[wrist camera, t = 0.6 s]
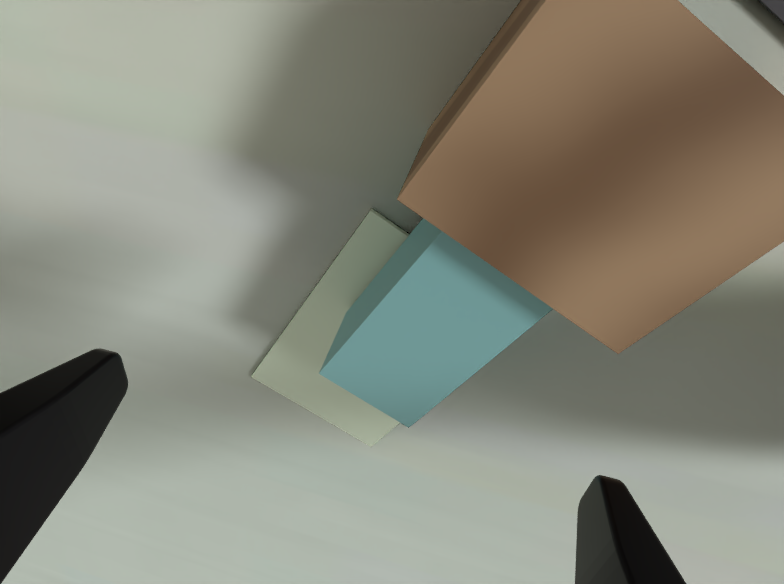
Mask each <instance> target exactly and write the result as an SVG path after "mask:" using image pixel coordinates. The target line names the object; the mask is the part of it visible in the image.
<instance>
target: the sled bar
mask: <svg viewBox="0 0 784 584" xmlns="http://www.w3.org/2000/svg"><path fill="white" fill-rule="evenodd" d="M552 309H553V308H551V307H550V306H549V305H547V304H546V303H544V302H543V301H541V300H540V299H539V298H537V297H536V296H534V295H533V294H531V293H530V292H529V291H527V290H526V289H524V288H523V287H521V286H520V285H518V284H517V283H516V282H514V281H513V280H511V279H510V278H508V277H507V276H506V275H504V274H503V273H501V272H500V271H498V270H497V269H496V268H494V267H493V266H491V265H490V264H488V263H487V262H486V261H484V260H483V259H481V258H480V257H478V256H477V255H476V254H474V253H473V252H471V251H470V250H468V249H467V248H466V247H464V246H463V245H461V244H460V243H458V242H457V241H456V240H454V239H453V238H451V237H450V236H448V235H447V234H446V233H444V232H443V231H441V230H440V229H438V228H437V227H435V226H434V225H433V224H431V223H430V222H428V221H427V220H425V219H424V218H423V219H422V220H421V221H420V223H419V224H418V225H417V226H416V227H415V229H414V230H413V231H412V232H411V234H410V235H409V236H408V237H407V238H406V240H405V241H404V242H403V243H402V245H401V246H400V247H399V248H398V250H397V251H396V252H395V253H394V254H393V256H392V257H391V258H390V259H389V261H388V262H387V263H386V264H385V265H384V267H383V268H382V269H381V270H380V272H379V273H378V274H377V275H376V277H375V278H374V279H373V280H372V281H371V283H370V284H369V285H368V286H367V288H366V289H365V290H364V291H363V292H362V294H361V295H360V296H359V297H358V299H357V300H356V301H355V302H354V304H353V305H352V306H351V307H350V308H349V310H348V311H347V312H346V314H345V316H344V319H343V321H342V323H341V325H340V327H339V330H338V332H337V334H336V336H335V339H334V341H333V343H332V345H331V347H330V350H329V352H328V354H327V356H326V359H325V361H324V363H323V365H322V367H321V370H320V372H319V374H320V375H322V376H323V377H325V378H327V379H328V380H330V381H332V382H333V383H335V384H337V385H338V386H340V387H342V388H343V389H345V390H347V391H348V392H350V393H352V394H353V395H355V396H357V397H358V398H360V399H362V400H363V401H365V402H367V403H368V404H370V405H372V406H373V407H375V408H377V409H378V410H380V411H382V412H383V413H385V414H387V415H388V416H390V417H392V418H393V419H395V420H397V421H398V422H400V423H402V424H403V425H405V426H407V427H408V428H409V427H410V426H412V425H413V424H414V423H415V422H416V421H418V420H419V419H420V418H421V417H422V416H424V415H425V414H426V413H427V412H429V411H430V410H431V409H432V408H433V407H435V406H436V405H437V404H438V403H439V402H441V401H442V400H443V399H444V398H446V397H447V396H448V395H449V394H450V393H452V392H453V391H454V390H455V389H456V388H458V387H459V386H460V385H461V384H463V383H464V382H465V381H466V380H467V379H469V378H470V377H471V376H472V375H473V374H475V373H476V372H477V371H478V370H479V369H481V368H482V367H483V366H484V365H486V364H487V363H488V362H489V361H490V360H492V359H493V358H494V357H495V356H496V355H498V354H499V353H500V352H501V351H503V350H504V349H505V348H506V347H507V346H509V345H510V344H511V343H512V342H513V341H515V340H516V339H517V338H518V337H520V336H521V335H522V334H523V333H524V332H526V331H527V330H528V329H529V328H530V327H532V326H533V325H534V324H535V323H536V322H538V321H539V320H540V319H541V318H543V317H544V316H545V315H546V314H547V313H549V312H550V311H551V310H552Z"/></svg>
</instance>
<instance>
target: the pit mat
mask: <svg viewBox="0 0 784 584" xmlns="http://www.w3.org/2000/svg"><path fill="white" fill-rule="evenodd" d="M758 1H759V2H761V3H762V4H763V5H764V6H765V7H766V8H767V9H768V10H769V11H770V12H771V13H772V14H773V15H774V16H775V17H777V18H778V19H779V20H780V21H781V22H782V23H783V24H784V0H758Z"/></svg>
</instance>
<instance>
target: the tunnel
mask: <svg viewBox="0 0 784 584" xmlns="http://www.w3.org/2000/svg"><path fill="white" fill-rule="evenodd" d="M397 200H398V201H400V202H401V203H403V204H404V205H405V206H407V207H408V208H410V209H411V210H413V211H414V212H415V213H417V214H418V215H420V216H421V217H423V218H424V219H425V220H427V221H428V222H430V223H431V224H433V225H434V226H435V227H437V228H438V229H440V230H441V231H443V232H444V233H446V234H447V235H448V236H450V237H451V238H453V239H454V240H456V241H457V242H458V243H460V244H461V245H463V246H464V247H466V248H467V249H468V250H470V251H471V252H473V253H474V254H476V255H477V256H478V257H480V258H481V259H483V260H484V261H486V262H487V263H488V264H490V265H491V266H493V267H494V268H496V269H497V270H498V271H500V272H501V273H503V274H504V275H506V276H507V277H508V278H510V279H511V280H513V281H514V282H516V283H517V284H518V285H520V286H521V287H523V288H524V289H526V290H527V291H529V292H530V293H531V294H533V295H534V296H536V297H537V298H539V299H540V300H541V301H543V302H544V303H546V304H547V305H549V306H550V307H551V308H553V309H554V310H556V311H557V312H559V313H560V314H561V315H563V316H564V317H566V318H567V319H569V320H570V321H571V322H573V323H574V324H576V325H577V326H579V327H580V328H581V329H583V330H584V331H586V332H587V333H589V334H590V335H591V336H593V337H594V338H596V339H597V340H599V341H600V342H601V343H603V344H604V345H606V346H607V347H609V348H610V349H612V350H613V351H614V352H616V353H617V354H619V353H620V352H622V351H623V350H625V349H626V348H628V347H629V346H631V345H632V344H634V343H635V342H637V341H638V340H639V339H641V338H642V337H644V336H645V335H647V334H648V333H650V332H651V331H653V330H654V329H656V328H657V327H659V326H660V325H662V324H663V323H664V322H666V321H667V320H669V319H670V318H672V317H673V316H675V315H676V314H678V313H679V312H681V311H682V310H684V309H685V308H686V307H688V306H689V305H691V304H692V303H694V302H695V301H697V300H698V299H700V298H701V297H703V296H704V295H706V294H707V293H709V292H710V291H711V290H713V289H714V288H716V287H717V286H719V285H720V284H722V283H723V282H725V281H726V280H728V279H729V278H731V277H732V276H734V275H735V274H736V273H738V272H739V271H741V270H742V269H744V268H745V267H747V266H748V265H750V264H751V263H753V262H754V261H756V260H757V259H758V258H760V257H761V256H763V255H764V254H766V253H767V252H769V251H770V250H772V249H773V248H775V247H776V246H778V245H779V244H781V243H782V242H783V241H784V96H783V95H782V94H781V93H780V92H779V91H778V90H777V89H776V88H775V87H773V86H772V85H771V84H770V83H769V82H768V81H767V80H766V79H764V78H763V77H762V76H761V75H760V74H759V73H758V72H757V71H756V70H754V69H753V68H752V67H751V66H750V65H749V64H748V63H747V62H746V61H744V60H743V59H742V58H741V57H740V56H739V55H738V54H737V53H736V52H734V51H733V50H732V49H731V48H730V47H729V46H728V45H727V44H726V43H724V42H723V41H722V40H721V39H720V38H719V37H718V36H717V35H716V34H714V33H713V32H712V31H711V30H710V29H709V28H708V27H707V26H706V25H704V24H703V23H702V22H701V21H700V20H699V19H698V18H697V17H696V16H694V15H693V14H692V13H691V12H690V11H689V10H688V9H687V8H686V7H684V6H683V5H682V4H681V3H680V2H679V1H678V0H521V1H520V2H519V4H518V5H517V7H516V8H515V9H514V11H513V12H512V14H511V15H510V16H509V18H508V19H507V21H506V22H505V23H504V25H503V26H502V28H501V29H500V30H499V32H498V33H497V35H496V36H495V37H494V39H493V40H492V41H491V43H490V44H489V46H488V47H487V48H486V50H485V51H484V53H483V54H482V55H481V57H480V58H479V60H478V61H477V62H476V64H475V65H474V67H473V68H472V69H471V71H470V72H469V74H468V75H467V76H466V78H465V79H464V80H463V82H462V83H461V85H460V86H459V87H458V89H457V90H456V92H455V93H454V94H453V96H452V97H451V99H450V100H449V101H448V103H447V104H446V106H445V107H444V108H443V110H442V111H441V113H440V114H439V115H438V117H437V118H436V119H435V121H434V122H433V124H432V125H431V126H430V128H429V129H428V131H427V134H426V136H425V138H424V140H423V143H422V145H421V147H420V149H419V151H418V154H417V156H416V158H415V160H414V163H413V165H412V167H411V169H410V171H409V174H408V176H407V178H406V180H405V183H404V185H403V187H402V189H401V191H400V194H399V196H398V198H397Z"/></svg>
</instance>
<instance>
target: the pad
mask: <svg viewBox="0 0 784 584" xmlns="http://www.w3.org/2000/svg"><path fill="white" fill-rule="evenodd" d="M409 235H410V234H408V233H407V232H405V231H404V230H402V229H401V228H399V227H398V226H396V225H395V224H394V223H392V222H391V221H389V220H388V219H386V218H385V217H383V216H382V215H380V214H379V213H378V212H376V211H375V210H373V209H371V210H370V211H369V213H368V214H367V216H366V217H365V218H364V220H363V221H362V223H361V224H360V225H359V227H358V228H357V229H356V231H355V232H354V234H353V235H352V236H351V238H350V239H349V241H348V242H347V243H346V245H345V246H344V248H343V249H342V250H341V252H340V253H339V255H338V256H337V257H336V259H335V260H334V262H333V263H332V264H331V266H330V267H329V268H328V270H327V271H326V273H325V274H324V275H323V277H322V278H321V280H320V281H319V282H318V284H317V285H316V287H315V288H314V289H313V291H312V292H311V294H310V295H309V296H308V298H307V299H306V301H305V302H304V303H303V305H302V306H301V307H300V309H299V310H298V312H297V313H296V314H295V316H294V317H293V319H292V320H291V321H290V323H289V324H288V326H287V327H286V328H285V330H284V331H283V333H282V334H281V335H280V337H279V338H278V340H277V341H276V342H275V344H274V345H273V346H272V348H271V349H270V351H269V352H268V353H267V355H266V356H265V358H264V359H263V360H262V362H261V363H260V365H259V366H258V367H257V369H256V370H255V372H254V373H253V374H252V376H251V377H252V378H253V379H255V380H257V381H258V382H260V383H262V384H264V385H265V386H267V387H269V388H270V389H272V390H274V391H276V392H277V393H279V394H281V395H282V396H284V397H286V398H288V399H289V400H291V401H293V402H294V403H296V404H298V405H300V406H301V407H303V408H305V409H306V410H308V411H310V412H312V413H313V414H315V415H317V416H318V417H320V418H322V419H324V420H325V421H327V422H329V423H331V424H332V425H334V426H336V427H337V428H339V429H341V430H343V431H344V432H346V433H348V434H349V435H351V436H353V437H355V438H356V439H358V440H360V441H361V442H363V443H365V444H367V445H368V446H370V447H372V446H373V445H374V444H375V443H377V442H378V441H379V440H380V439H381V438H382V437H384V436H385V435H386V434H387V433H388V432H389V431H391V430H392V429H393V428H394V427H395V426H397V425H398V424H399V423H400V422H398V421H397V420H395V419H393V418H392V417H390V416H388V415H387V414H385V413H383V412H382V411H380V410H378V409H377V408H375V407H373V406H372V405H370V404H368V403H367V402H365V401H363V400H362V399H360V398H358V397H357V396H355V395H353V394H352V393H350V392H348V391H347V390H345V389H343V388H342V387H340V386H338V385H337V384H335V383H333V382H332V381H330V380H328V379H327V378H325V377H323V376H322V375H320V374H319V372H320V370H321V367H322V365H323V363H324V361H325V359H326V356H327V354H328V352H329V350H330V347H331V345H332V343H333V341H334V339H335V336H336V334H337V332H338V330H339V327H340V325H341V323H342V321H343V319H344V316H345V314H346V312H347V311H348V310H349V308H350V307H351V306H352V305H353V304H354V302H355V301H356V300H357V299H358V297H359V296H360V295H361V294H362V292H363V291H364V290H365V289H366V288H367V286H368V285H369V284H370V283H371V281H372V280H373V279H374V278H375V277H376V275H377V274H378V273H379V272H380V270H381V269H382V268H383V267H384V265H385V264H386V263H387V262H388V261H389V259H390V258H391V257H392V256H393V254H394V253H395V252H396V251H397V250H398V248H399V247H400V246H401V245H402V243H403V242H404V241H405V240H406V238H407V237H408V236H409Z"/></svg>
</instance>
